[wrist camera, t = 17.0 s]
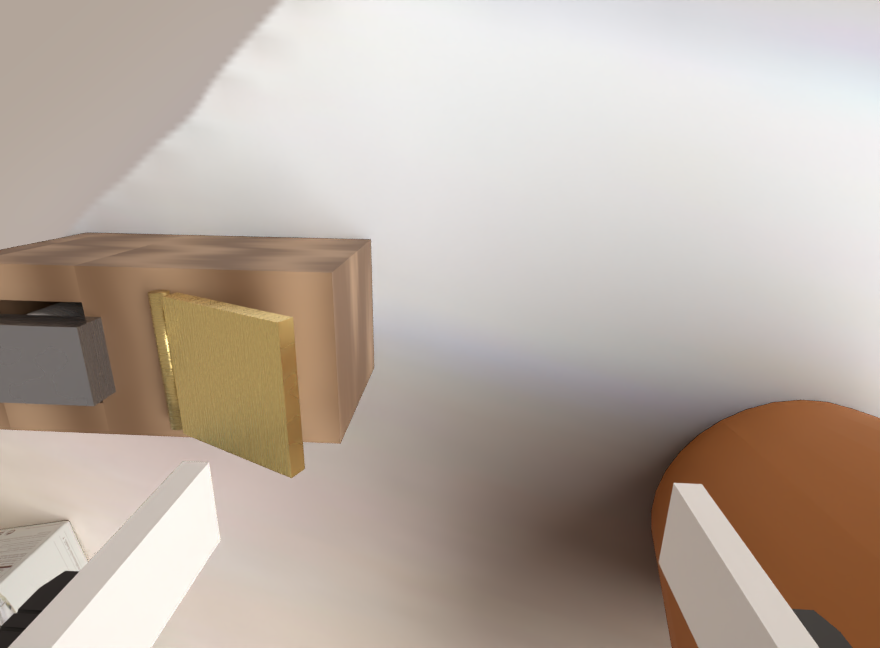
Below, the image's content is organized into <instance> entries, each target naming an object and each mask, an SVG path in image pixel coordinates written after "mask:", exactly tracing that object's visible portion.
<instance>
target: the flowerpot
mask: <svg viewBox="0 0 880 648" xmlns="http://www.w3.org/2000/svg"><path fill="white" fill-rule="evenodd" d="M673 483H689V484H702V485H703V486H704V488H705V489H706V491H707V492H708V493H709V495H710V496H711V497H712V499H713V500H714V502H715V503H716V504H717V506H718V507H719V509H720V510H721V511H722V513H723V514H724V516H725V517H726V518H727V520H728V521H729V523H730V524H731V525H732V527H733V528H734V530H735V531H736V532H737V534H738V535H739V536H740V538H741V539H742V541H743V542H744V543H745V545H746V546H747V548H748V549H749V550H750V552H751V553H752V555H753V556H754V557H755V559H756V560H757V562H758V563H759V564H760V566H761V567H762V569H763V570H764V571H765V573H766V574H767V575H768V577H769V578H770V580H771V581H772V582H773V584H774V585H775V587H776V588H777V589H778V591H779V592H780V594H781V595H782V596H783V598H784V599H785V601H786V602H787V603H788V605H789V606H790V608H791V609H804V610H814V611H816V612H817V613H818V614H819V615H820V616H822V617H823V618H824V619H825V620H826V621H828V622H829V623H830V624H831V625H833V626H834V627H835V628H836V629H837V630H839V631H840V632H841V633H842V635H843V636H844V637H845V638H846V640H847V641H848V642H849V644H850V645H851V646H852V647H853V648H880V418H878V417H875V416H872V415H869V414H866V413H863V412H860V411H857V410H855V409H852V408H848V407H844V406H840V405H837V404H833V403H829V402H821V401H809V400H794V401H783V402H773V403H769V404H765V405H761V406H757V407H754V408H750V409H746V410H744V411H741V412H739V413H737V414H735V415H732V416H730V417H728V418H725V419H723V420H721V421H719V422H718V423H716V424H715V425H713V426H712V427H710V428H709V429H707V430H705V431H704V432H702V433H701V434H699V435H698V436H697V437H696V438H695V439H694V440H693V441H691V442H690V443H689V444H688V445H687V446H686V447H685V448H684V449H683V450H682V451H680V453H679V454H678V455H677V457H676V458H675V459H674V461H673V462H672V463H671V464H670V466H669V467H668V468H667V470H666V471H665V473H664V475H663V477H662V480H661V482H660V484H659V486H658V488H657V490H656V493H655V497H654V502H653V506H652V510H651V531H652V537H653V542H654V548H655V554H656V560H657V565H658V571H659V577H660V583H661V588H662V594H663V600H664V606H665V611H666V617H667V623H668V629H669V634H670V640H671V646H672V648H698V646H697V643H696V641H695V639H694V637H693V635H692V633H691V631H690V629H689V626H688V624H687V622H686V620H685V618H684V616H683V614H682V612H681V609H680V607H679V605H678V603H677V601H676V599H675V597H674V595H673V592H672V590H671V588H670V586H669V584H668V582H667V580H666V578H665V576H664V573H663V571H662V569H661V567H660V565H659V558H660V552H661V547H662V542H663V536H664V531H665V526H666V520H667V515H668V510H669V505H670V499H671V494H672V489H673Z"/></svg>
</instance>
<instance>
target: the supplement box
mask: <svg viewBox="0 0 880 648" xmlns="http://www.w3.org/2000/svg"><path fill="white" fill-rule="evenodd" d="M87 563H88V561H87V559H86V557H85V554H84V552H83V550H82V548H81V546H80V544H79V542H78V540H77V538H76V535H75V533H74V531H73V529H72V526H71V524H70V522H69V521H60V522H53V523H45V524H39V525H31V526H24V527H16V528H9V529H2V530H0V628H1V626H2V625H3V624H4V623H5V622H6V621H7V620H8V619H9V618H10V617H11V616H12V615H13V614H14V613H17V612H18V609H19V608H20V607H21V606H22V605H23V604H24V603H25V602H26V601H27V600H28V599H29V598H30V597H31V596H32V595H33V594H34V593H35V592H36V591H37V589H38V588H40V587H41V586H43V585H44V584H46V583H47V582H49V581H50V580H52V579H53V578H55V577H56V576H58V575H60V574H61V573H63V572H64V571H80V570H81V569H82V568H83V567H84V566H85V565H86V564H87Z"/></svg>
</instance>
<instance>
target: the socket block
mask: <svg viewBox="0 0 880 648" xmlns="http://www.w3.org/2000/svg"><path fill="white" fill-rule="evenodd" d="M154 290H169V291H170V294H173V293H182V294H187V295H192V296H196V297H201V298H206V299H210V300H215V301H220V302H224V303H229V304H234V305H238V306H243V307H247V308H252V309H257V310H261V311H266V312H271V313H275V314H280V315H285V316H289V317H293V323H294V336H295V349H296V362H297V375H298V388H299V400H300V413H301V426H302V439H303V442H317V443H341V441H342V439H343V437H344V435H345V432H346V430H347V428H348V426H349V423H350V421H351V419H352V416H353V414H354V412H355V410H356V407H357V405H358V403H359V401H360V398H361V396H362V394H363V392H364V389H365V387H366V385H367V383H368V380H369V378H370V376H371V374H372V371H373V369H374V342H373V304H372V265H371V240H369V239H328V238H287V237H246V236H205V235H164V234H123V233H83V234H78V235H73V236H68V237H62V238H58V239H52V240H48V241H42V242H37V243H32V244H27V245H22V246H17V247H12V248H7V249H2V250H0V314H19V315H25V314H28V313H31V312H34V311H37V310H40V309H42V308H45V307H48V306H51V305H54V304H56V303H59V302H82V306H83V310H84V315H85V317H101V320H102V325H103V330H104V335H105V340H106V345H107V350H108V355H109V360H110V365H111V370H112V375H113V380H114V384H115V389H116V392H115V393H113V394H112V395H110V396H109V397H107V398H106V399H104V400H103V401H101V402H100V403H98V404H97V405H95V406H75V405H50V404H25V403H0V429H7V430H31V431H55V432H79V433H102V434H126V435H150V436H174V437H190V436H188V435H185V434H183V430H177V431H176V430H172V429H171V428H170V422H169V416H168V410H167V404H166V399H165V393H164V387H163V381H162V375H161V369H160V363H159V357H158V351H157V345H156V339H155V334H154V328H153V322H152V316H151V310H150V304H149V298H148V292H150V291H154Z"/></svg>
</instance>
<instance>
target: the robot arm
mask: <svg viewBox="0 0 880 648" xmlns="http://www.w3.org/2000/svg"><path fill="white" fill-rule="evenodd" d="M219 542H220V534H219V527H218V520H217V514H216V507H215V500H214V493H213V486H212V480H211V473H210V466H209V462H193V461H183V462H182V463H181V464H180V465H179V466H178V467H177V468H176V469H175V470H174V471H173V472H172V473H171V474H170V475H169V477H168V478H167V479H166V480H165V481H164V482H163V483H162V484H161V485H160V486H159V487H158V488H157V489H156V490H155V491H154V493H153V494H152V495H151V496H150V497H149V498H148V499H147V500H146V501H145V502H144V503H143V504H142V505H141V506H140V507H139V509H138V510H137V511H136V512H135V513H134V514H133V515H132V516H131V517H130V518H129V519H128V520H127V521H126V522H125V523H124V525H123V526H122V527H121V528H120V529H119V530H118V531H117V532H116V533H115V534H114V535H113V536H112V537H111V538H110V539H109V541H108V542H107V543H106V544H105V545H104V546H103V547H102V548H101V549H100V550H99V551H98V552H97V553H96V554H95V555H94V557H93V558H92V559H91V560H90V561H89V562H88V563H87V564H86V565H85V566H84V567H83V568H82V569H81V570H80V571H64V572H63V573H61V574H60V575H58V576H56V577H55V578H53V579H52V580H50V581H49V582H47V583H46V584H44V585H43V586H41V587H40V588H38V589H37V591H36V592H35V593H34V594H33V595H32V596H31V597H30V598H29V599H28V600H27V601H26V602H25V603H24V604H23V605H22V606H21V607H20V608H19V609H18V612H17V613H14V614H13V615H12V616H11V617H10V618H9V619H8V620H7V621H6V622H5V623H4V624H3V625H2V626H1V628H0V648H151V647H152V646H153V644H154V643H155V641H156V639H157V638H158V636H159V635H160V633H161V632H162V630H163V629H164V627H165V625H166V624H167V622H168V621H169V619H170V618H171V616H172V615H173V613H174V612H175V610H176V608H177V607H178V605H179V604H180V602H181V601H182V599H183V598H184V596H185V594H186V593H187V591H188V590H189V588H190V587H191V585H192V584H193V582H194V581H195V579H196V577H197V576H198V574H199V573H200V571H201V570H202V568H203V567H204V565H205V563H206V562H207V560H208V559H209V557H210V556H211V554H212V553H213V551H214V550H215V548H216V546H217V545H218V543H219ZM659 565H660V567H661V569H662V571H663V573H664V576H665V578H666V580H667V582H668V584H669V586H670V588H671V590H672V592H673V595H674V597H675V599H676V601H677V603H678V605H679V607H680V609H681V612H682V614H683V616H684V618H685V620H686V622H687V624H688V626H689V629H690V631H691V633H692V635H693V637H694V639H695V641H696V643H697V646H698V648H853V647H852V646H851V645H850V644H849V642H848V641H847V640H846V638H845V637H844V636H843V635H842V633H841V632H840V631H839V630H837V629H836V628H835V627H834V626H833V625H831V624H830V623H829V622H828V621H826V620H825V619H824V618H823V617H822V616H820V615H819V614H818V613H817V612H816V611H814V610H804V609H791V608H790V606H789V605H788V603H787V602H786V601H785V599H784V598H783V596H782V595H781V594H780V592H779V591H778V589H777V588H776V587H775V585H774V584H773V582H772V581H771V580H770V578H769V577H768V575H767V574H766V573H765V571H764V570H763V569H762V567H761V566H760V564H759V563H758V562H757V560H756V559H755V557H754V556H753V555H752V553H751V552H750V550H749V549H748V548H747V546H746V545H745V543H744V542H743V541H742V539H741V538H740V536H739V535H738V534H737V532H736V531H735V530H734V528H733V527H732V525H731V524H730V523H729V521H728V520H727V518H726V517H725V516H724V514H723V513H722V511H721V510H720V509H719V507H718V506H717V504H716V503H715V502H714V500H713V499H712V497H711V496H710V495H709V493H708V492H707V491H706V489H705V488H704V486H703V485H702V484H689V483H673V489H672V494H671V499H670V505H669V510H668V515H667V520H666V526H665V531H664V536H663V542H662V547H661V552H660V558H659Z"/></svg>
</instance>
